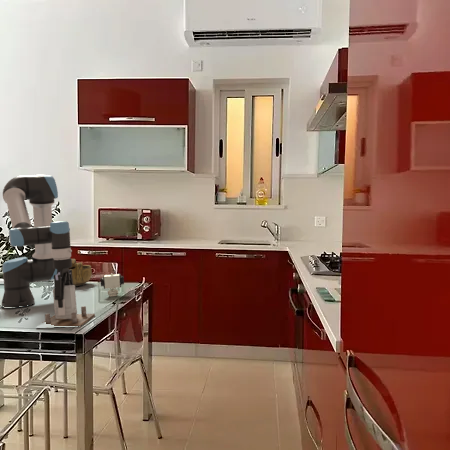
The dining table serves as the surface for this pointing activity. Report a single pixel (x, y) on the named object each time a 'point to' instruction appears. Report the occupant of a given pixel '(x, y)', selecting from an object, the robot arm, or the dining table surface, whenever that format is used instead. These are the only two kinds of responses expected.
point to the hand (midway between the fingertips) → (66, 312)
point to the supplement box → (67, 302)
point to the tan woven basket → (80, 273)
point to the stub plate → (70, 319)
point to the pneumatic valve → (112, 283)
